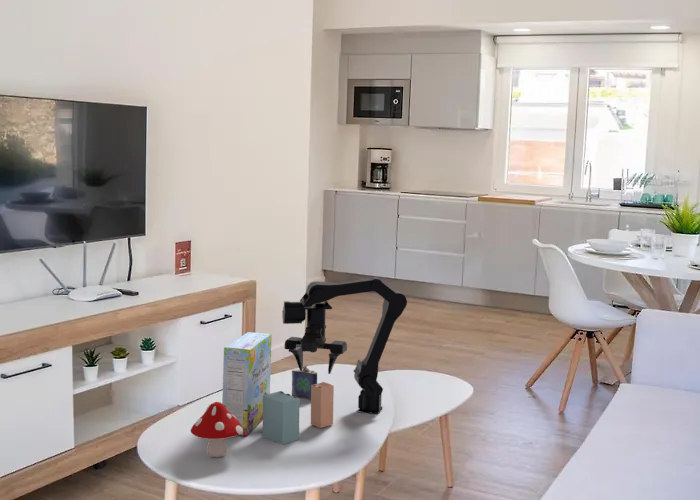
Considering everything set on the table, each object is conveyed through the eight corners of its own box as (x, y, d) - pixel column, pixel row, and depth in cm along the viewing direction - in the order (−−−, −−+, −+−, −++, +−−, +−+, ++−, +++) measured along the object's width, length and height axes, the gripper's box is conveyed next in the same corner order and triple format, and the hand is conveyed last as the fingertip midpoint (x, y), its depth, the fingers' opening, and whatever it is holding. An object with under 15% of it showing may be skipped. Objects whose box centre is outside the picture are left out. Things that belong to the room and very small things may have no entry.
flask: (290, 396, 272) (290, 364, 270) (294, 394, 274) (295, 362, 273) (315, 400, 268) (315, 368, 266) (319, 398, 270) (319, 366, 269)
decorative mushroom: (185, 449, 223) (185, 396, 221) (234, 443, 228) (234, 391, 226) (197, 468, 210) (197, 412, 208) (249, 461, 215) (249, 406, 213)
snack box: (249, 437, 233) (250, 349, 230) (220, 434, 235) (220, 347, 231) (271, 413, 254) (272, 332, 251) (245, 411, 256) (245, 330, 252)
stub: (322, 420, 248) (323, 381, 246) (332, 424, 244) (333, 384, 243) (310, 424, 244) (311, 384, 242) (320, 428, 241) (321, 387, 239)
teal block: (278, 431, 238) (279, 390, 237) (299, 439, 232) (299, 397, 231) (262, 435, 234) (262, 394, 233) (282, 444, 228) (283, 401, 226)
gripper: (278, 326, 247) (277, 376, 249) (337, 331, 242) (336, 382, 244) (290, 318, 257) (290, 367, 259) (347, 323, 252) (346, 372, 254)
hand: (315, 372), depth 254 cm, fingers open, 9 cm apart
